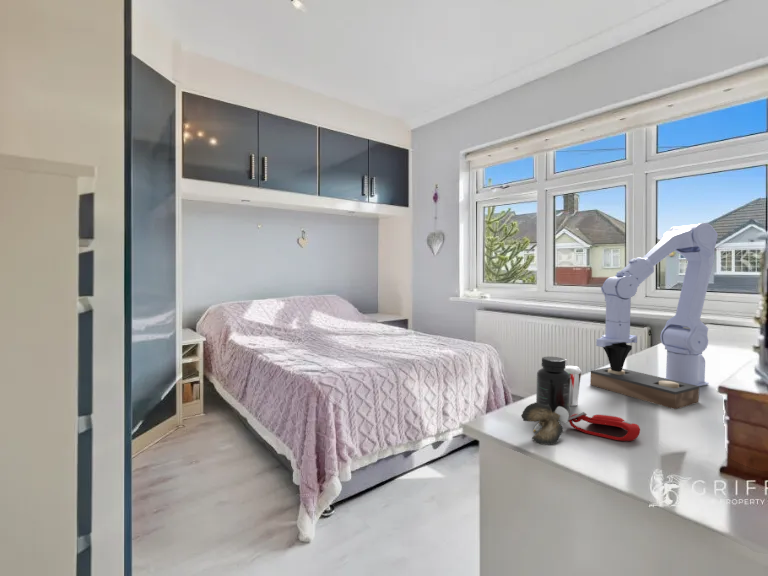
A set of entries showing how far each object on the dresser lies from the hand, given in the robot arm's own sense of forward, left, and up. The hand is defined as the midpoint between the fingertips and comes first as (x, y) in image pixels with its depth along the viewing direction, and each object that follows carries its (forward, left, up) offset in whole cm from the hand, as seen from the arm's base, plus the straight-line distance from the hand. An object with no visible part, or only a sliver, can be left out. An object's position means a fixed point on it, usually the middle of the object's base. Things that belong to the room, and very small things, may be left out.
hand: (616, 370), depth 106 cm
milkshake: (+23, +4, -4) cm, 24 cm away
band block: (0, +7, -4) cm, 8 cm away
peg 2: (0, +13, -4) cm, 13 cm away
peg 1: (0, 0, -4) cm, 4 cm away
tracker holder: (+31, +17, -5) cm, 36 cm away
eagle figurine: (+42, +13, -5) cm, 45 cm away
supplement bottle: (+31, +6, -4) cm, 32 cm away
